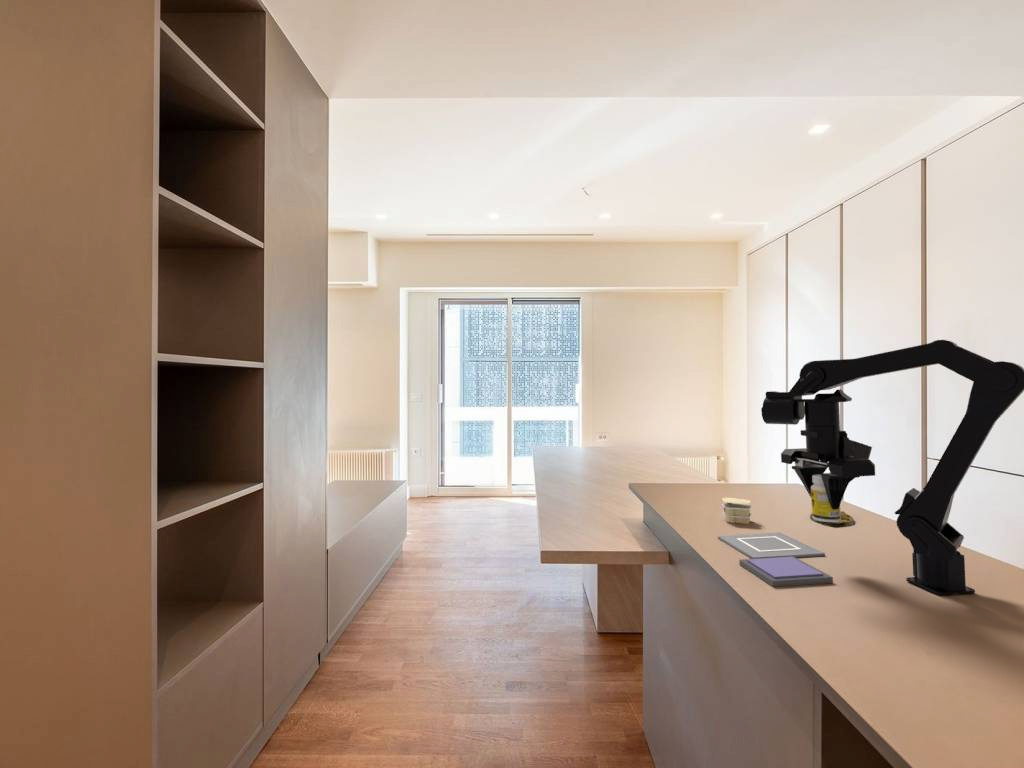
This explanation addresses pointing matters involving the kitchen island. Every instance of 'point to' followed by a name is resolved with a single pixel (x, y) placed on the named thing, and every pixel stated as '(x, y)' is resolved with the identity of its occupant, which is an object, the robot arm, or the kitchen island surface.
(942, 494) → the robot arm
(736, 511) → the cream tiered block
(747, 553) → the board
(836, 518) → the supplement bottle
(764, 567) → the pad
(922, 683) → the kitchen island surface
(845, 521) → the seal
